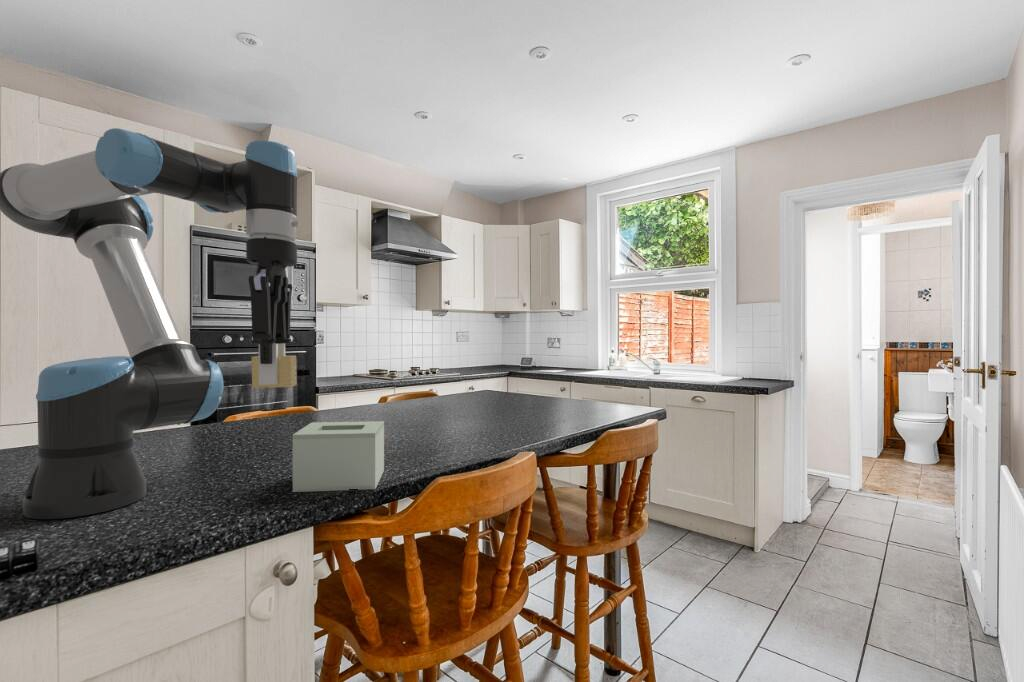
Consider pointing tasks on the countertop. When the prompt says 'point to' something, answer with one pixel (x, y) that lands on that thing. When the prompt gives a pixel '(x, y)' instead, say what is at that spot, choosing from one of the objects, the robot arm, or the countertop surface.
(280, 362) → the block
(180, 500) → the countertop surface
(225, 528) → the countertop surface
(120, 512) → the countertop surface
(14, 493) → the countertop surface
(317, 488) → the coin box
